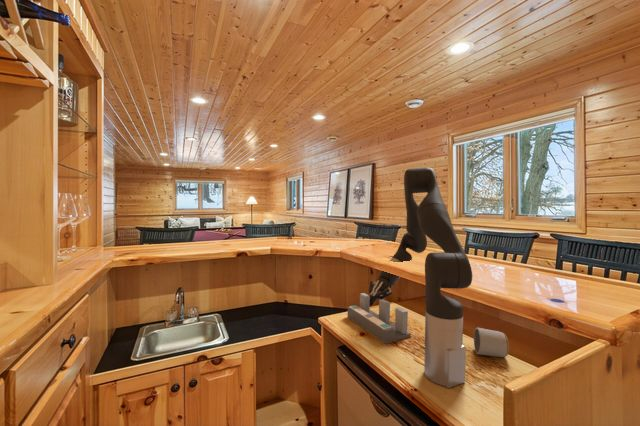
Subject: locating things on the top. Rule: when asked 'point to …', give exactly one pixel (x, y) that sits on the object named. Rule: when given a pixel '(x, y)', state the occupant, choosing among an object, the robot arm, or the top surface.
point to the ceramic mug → (490, 343)
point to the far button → (365, 302)
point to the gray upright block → (384, 311)
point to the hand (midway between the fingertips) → (368, 304)
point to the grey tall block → (401, 320)
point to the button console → (375, 325)
